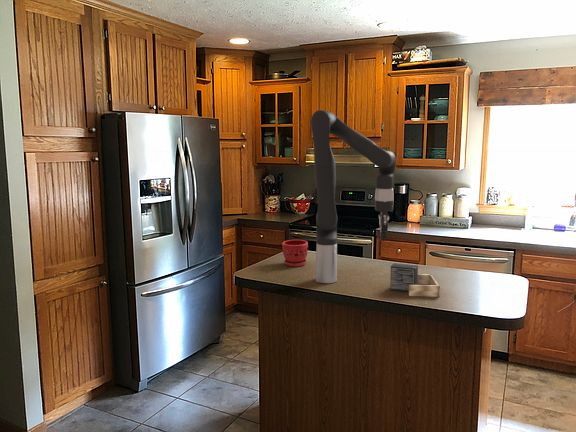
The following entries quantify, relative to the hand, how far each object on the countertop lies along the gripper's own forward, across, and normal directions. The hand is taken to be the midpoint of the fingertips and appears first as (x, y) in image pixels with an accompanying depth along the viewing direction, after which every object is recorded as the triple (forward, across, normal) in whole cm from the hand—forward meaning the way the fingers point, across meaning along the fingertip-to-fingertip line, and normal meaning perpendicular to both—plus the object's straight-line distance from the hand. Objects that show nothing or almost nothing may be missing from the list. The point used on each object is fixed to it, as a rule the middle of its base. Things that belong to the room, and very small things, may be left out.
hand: (383, 240), depth 195 cm
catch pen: (+21, 0, +16) cm, 26 cm away
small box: (+21, 0, +9) cm, 23 cm away
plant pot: (+21, -38, -41) cm, 60 cm away
